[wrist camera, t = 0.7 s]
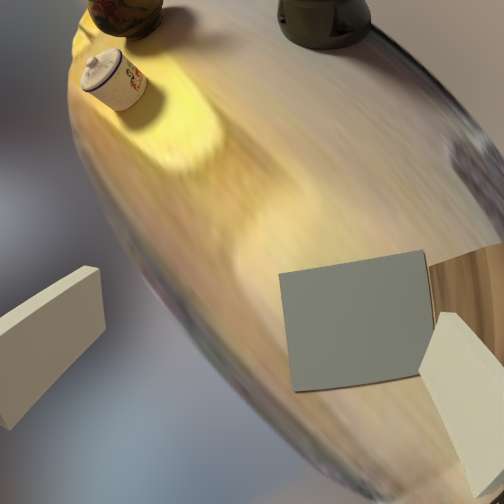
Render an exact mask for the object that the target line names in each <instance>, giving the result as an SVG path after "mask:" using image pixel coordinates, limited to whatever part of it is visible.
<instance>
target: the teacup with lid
mask: <svg viewBox="0 0 504 504" xmlns="http://www.w3.org/2000/svg"><path fill="white" fill-rule="evenodd" d="M86 66H87V67H86V68H85V70H84V72H83V74H82V76H81V80H80V84H81V87H82V89H83V90H84V91H85V92H89V93H90V94H92V95H93V96H94V97H96V98H97V99H99V100H100V101H101V102H103V103H104V104H106V105H107V106H108V107H110V108H111V109H112V110H114V111H123V110H125V109H128V108H129V107H131V106H132V105H133V104H135V103H136V102H137V101H138V100H139V98H140V97H141V96H142V94H143V92H144V90H145V88H146V84H147V80H146V77H145V76H144V74H142V73H141V72H140V71H139V70H138V69H137V68H136V67H135V66H134V65H133V64H132V63H131V62H130V61H129V60H128V59H127V58H126V57H125V56H124V55H122V52H121V51H120V50H119V49H115V48H110V49H107V50H105V51H103V52H101V53H100V54H98V55H97V56H96V57H94V56H92V57H90V58H89V59H88V60H87V61H86Z"/></svg>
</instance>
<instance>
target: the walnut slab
mask: <svg viewBox="0 0 504 504" xmlns="http://www.w3.org/2000/svg"><path fill="white" fill-rule="evenodd" d="M429 273H430V279H431V287H432V294H433V302H434V312H435V322H436V324H437V321H438V318H439V315H440V312H451V313H456V314H457V315H458V316H459V317H460V318H461V319H462V320H463V321H464V322H465V323H466V324H467V325H468V327H469V328H470V329H471V330H472V331H473V332H474V333H475V334H476V335H477V337H478V338H479V339H480V340H481V341H482V342H483V343H484V344H485V346H486V347H487V348H488V349H489V350H490V351H491V353H492V354H493V355H494V356H495V357H496V359H497V360H498V361H499V362H500V363H501V365H502V366H503V367H504V243H501V244H496V245H491V246H487V247H483V248H481V249H478V250H475V251H472V252H470V253H467V254H464V255H461V256H458V257H456V258H453V259H450V260H447V261H444V262H441V263H438V264H435V265H432V266H429Z"/></svg>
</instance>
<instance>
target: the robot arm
mask: <svg viewBox="0 0 504 504" xmlns="http://www.w3.org/2000/svg"><path fill="white" fill-rule="evenodd" d="M277 18H278V22H279V25H280V28H281V31H282V33H283V34H284V35H285V36H286V37H287V38H288V39H289V40H291V41H292V42H294V43H296V44H298V45H301V46H304V47H308V48H314V49H336V48H342V47H346V46H350V45H352V44H355V43H357V42H359V41H360V40H362V39H363V38H364V37H365V36H366V35H367V34H368V32H369V31H370V28H371V14H370V10H369V7H368V6H367V4H366V1H365V0H279V2H278V12H277ZM105 330H106V326H105V318H104V310H103V301H102V291H101V280H100V269H99V268H95V267H90V266H83V267H81V268H80V269H78V270H76V271H74V272H73V273H71V274H70V275H68V276H66V277H64V278H63V279H61V280H59V281H58V282H56V283H55V284H53V285H51V286H50V287H48V288H46V289H45V290H43V291H41V292H40V293H38V294H37V295H35V296H33V297H32V298H30V299H29V300H27V301H25V302H24V303H22V304H21V305H19V306H18V307H16V308H15V309H13V310H12V311H10V312H9V313H7V314H5V315H4V316H2V317H1V318H0V425H2V426H3V427H4V428H6V429H7V430H9V431H10V430H11V429H12V428H13V427H14V425H15V424H16V423H17V422H18V421H19V420H20V419H21V418H22V416H23V415H24V414H25V413H26V412H27V411H28V410H29V409H30V408H31V407H32V406H33V404H34V403H35V402H36V401H37V400H38V399H39V398H40V397H41V396H42V395H43V393H45V391H46V390H47V389H48V388H49V387H50V386H51V385H52V384H53V383H54V382H55V381H56V380H57V379H58V378H59V376H61V375H62V373H63V372H64V371H65V370H66V369H67V368H68V367H69V366H70V365H71V364H72V363H73V362H74V361H75V360H76V359H77V358H78V357H79V356H80V355H81V354H82V353H83V352H84V351H85V350H86V349H87V348H88V347H89V346H90V345H91V344H92V343H93V342H94V341H95V340H96V339H97V338H98V337H99V336H100V335H101V334H102V333H103V332H104V331H105ZM418 371H419V373H420V375H421V377H422V379H423V381H424V383H425V385H426V387H427V389H428V391H429V393H430V395H431V397H432V399H433V401H434V403H435V405H436V408H437V410H438V412H439V414H440V416H441V418H442V420H443V423H444V425H445V427H446V429H447V431H448V434H449V436H450V438H451V440H452V443H453V445H454V447H455V450H456V452H457V454H458V457H459V459H460V462H461V464H462V467H463V469H464V472H465V474H466V477H467V479H468V482H469V485H470V487H471V490H472V493H473V495H474V498H475V499H476V498H479V497H482V496H485V495H488V494H491V493H493V492H494V491H495V490H496V489H497V488H498V487H499V486H500V485H501V484H502V483H503V482H504V367H503V366H502V365H501V363H500V362H499V361H498V360H497V359H496V357H495V356H494V355H493V354H492V353H491V351H490V350H489V349H488V348H487V347H486V346H485V344H484V343H483V342H482V341H481V340H480V339H479V338H478V337H477V335H476V334H475V333H474V332H473V331H472V330H471V329H470V328H469V327H468V325H467V324H466V323H465V322H464V321H463V320H462V319H461V318H460V317H459V316H458V315H457V314H456V313H451V312H440V315H439V318H438V321H437V324H436V327H435V330H434V332H433V335H432V338H431V340H430V343H429V346H428V348H427V351H426V353H425V356H424V358H423V361H422V363H421V365H420V368H419V370H418ZM498 502H499V504H504V491H503V492H502V493H501V494H500V495H499V496H498V497H497V498H496V499H494V500H493V501H492V502H491V503H490V504H496V503H498Z"/></svg>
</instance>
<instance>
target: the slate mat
mask: <svg viewBox="0 0 504 504" xmlns="http://www.w3.org/2000/svg"><path fill="white" fill-rule="evenodd" d="M279 281H280V289H281V297H282V305H283V312H284V321H285V329H286V337H287V345H288V354H289V363H290V371H291V380H292V389H293V392H295V391H307V390H318V389H328V388H337V387H345V386H353V385H360V384H367V383H373V382H380V381H386V380H391V379H397V378H402V377H407V376H412V375H417V374H420V373H419V371H418V370H419V368H420V365H421V363H422V361H423V358H424V356H425V353H426V351H427V348H428V346H429V343H430V340H431V338H432V335H433V332H434V330H433V319H432V309H431V300H430V292H429V285H428V278H427V271H426V265H425V259H424V253H423V250H418V251H413V252H407V253H402V254H396V255H391V256H385V257H379V258H374V259H368V260H362V261H356V262H350V263H344V264H338V265H332V266H326V267H320V268H314V269H307V270H301V271H295V272H288V273H282V274H279Z"/></svg>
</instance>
